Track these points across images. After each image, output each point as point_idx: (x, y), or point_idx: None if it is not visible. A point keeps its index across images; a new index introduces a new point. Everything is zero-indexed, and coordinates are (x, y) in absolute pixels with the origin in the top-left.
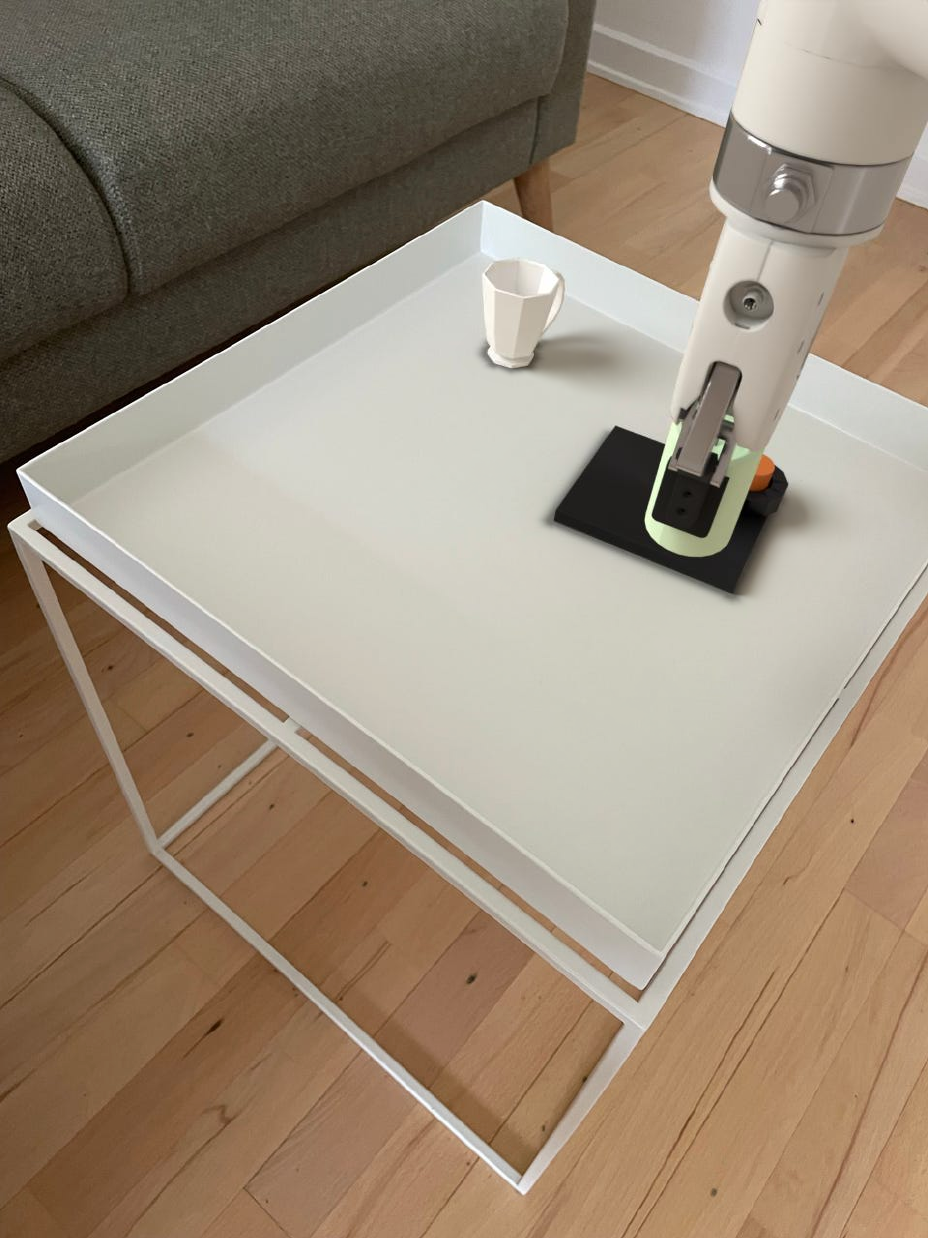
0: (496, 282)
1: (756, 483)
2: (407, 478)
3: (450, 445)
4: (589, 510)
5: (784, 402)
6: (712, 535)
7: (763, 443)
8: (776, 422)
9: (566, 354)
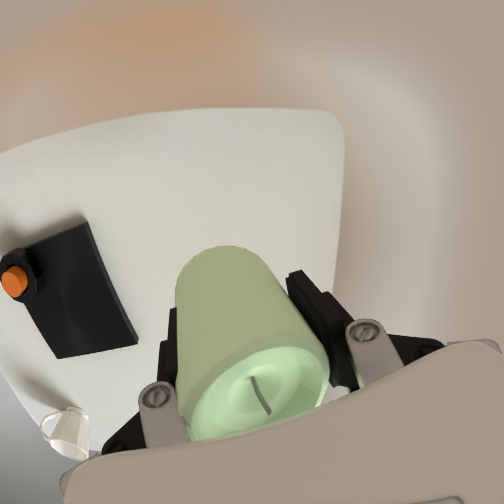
0: (76, 449)
1: (19, 273)
2: None
3: None
4: (119, 331)
5: (490, 427)
6: (262, 266)
7: (491, 348)
8: (463, 388)
9: (49, 397)
